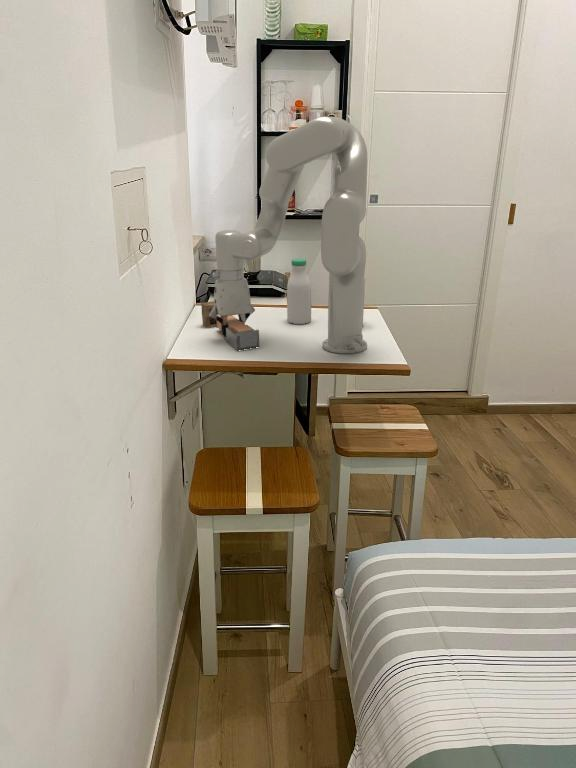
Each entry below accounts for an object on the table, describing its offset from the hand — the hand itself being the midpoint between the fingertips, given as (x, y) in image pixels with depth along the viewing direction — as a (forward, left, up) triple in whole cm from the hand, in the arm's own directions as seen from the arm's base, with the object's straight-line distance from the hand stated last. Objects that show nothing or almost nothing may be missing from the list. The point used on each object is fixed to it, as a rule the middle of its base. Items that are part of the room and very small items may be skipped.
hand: (233, 335), depth 181 cm
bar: (-1, 0, 0) cm, 1 cm away
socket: (+15, 0, -1) cm, 15 cm away
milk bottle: (+6, -25, -1) cm, 26 cm away
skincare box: (-5, -37, -1) cm, 37 cm away
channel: (-8, 0, -1) cm, 8 cm away
